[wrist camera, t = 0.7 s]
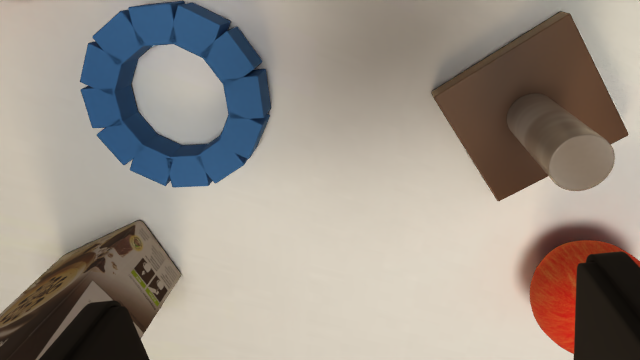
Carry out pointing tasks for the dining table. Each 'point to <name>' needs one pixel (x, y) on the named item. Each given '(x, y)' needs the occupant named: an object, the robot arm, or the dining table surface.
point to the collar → (120, 107)
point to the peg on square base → (535, 112)
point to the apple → (562, 288)
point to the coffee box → (89, 290)
